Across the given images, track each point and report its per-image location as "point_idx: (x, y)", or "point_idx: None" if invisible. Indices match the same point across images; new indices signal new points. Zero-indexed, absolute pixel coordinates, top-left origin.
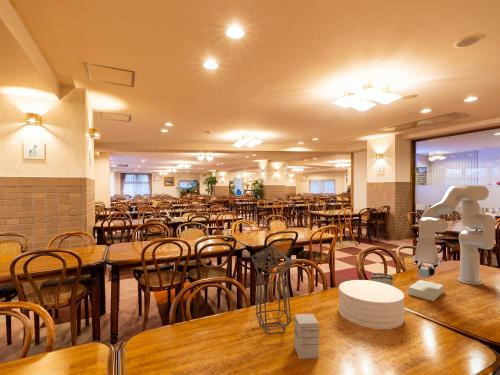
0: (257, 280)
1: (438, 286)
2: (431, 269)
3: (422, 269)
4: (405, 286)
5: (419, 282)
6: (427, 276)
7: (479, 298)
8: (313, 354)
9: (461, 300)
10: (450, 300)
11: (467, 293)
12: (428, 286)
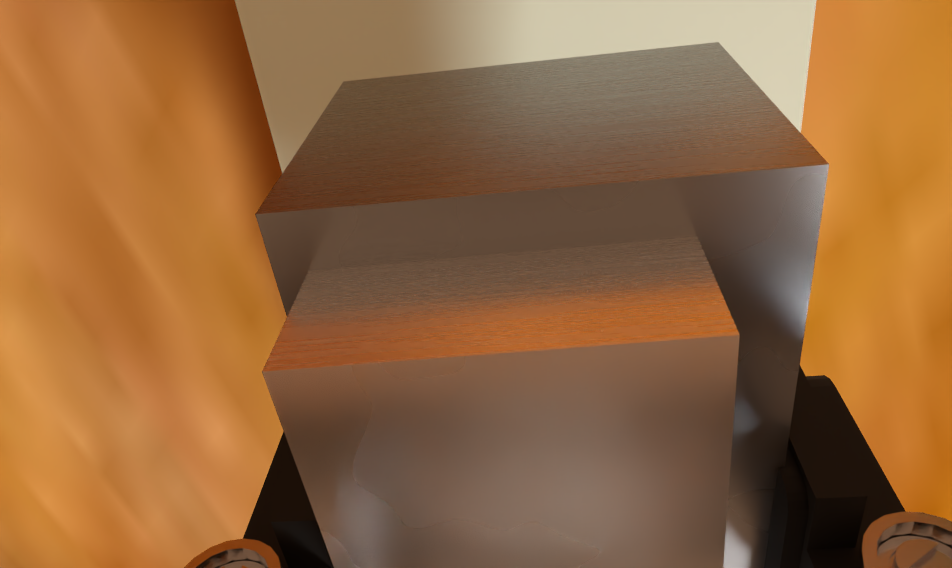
0: None
1: None
2: (297, 493)
3: (583, 207)
4: (940, 202)
5: None
6: (360, 94)
7: (37, 497)
8: None
9: (69, 273)
10: (133, 139)
11: (202, 551)
12: None
